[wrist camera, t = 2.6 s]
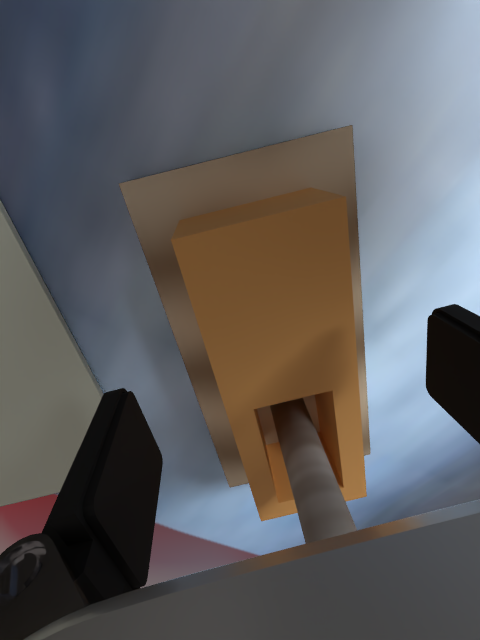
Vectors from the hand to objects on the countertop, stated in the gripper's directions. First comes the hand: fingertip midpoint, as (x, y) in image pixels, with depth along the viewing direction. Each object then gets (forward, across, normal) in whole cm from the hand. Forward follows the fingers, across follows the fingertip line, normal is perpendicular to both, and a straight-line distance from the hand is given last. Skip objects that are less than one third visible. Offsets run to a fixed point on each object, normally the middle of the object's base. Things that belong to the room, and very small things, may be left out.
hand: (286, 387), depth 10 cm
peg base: (+9, -1, +6) cm, 11 cm away
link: (+7, -1, +3) cm, 8 cm away
